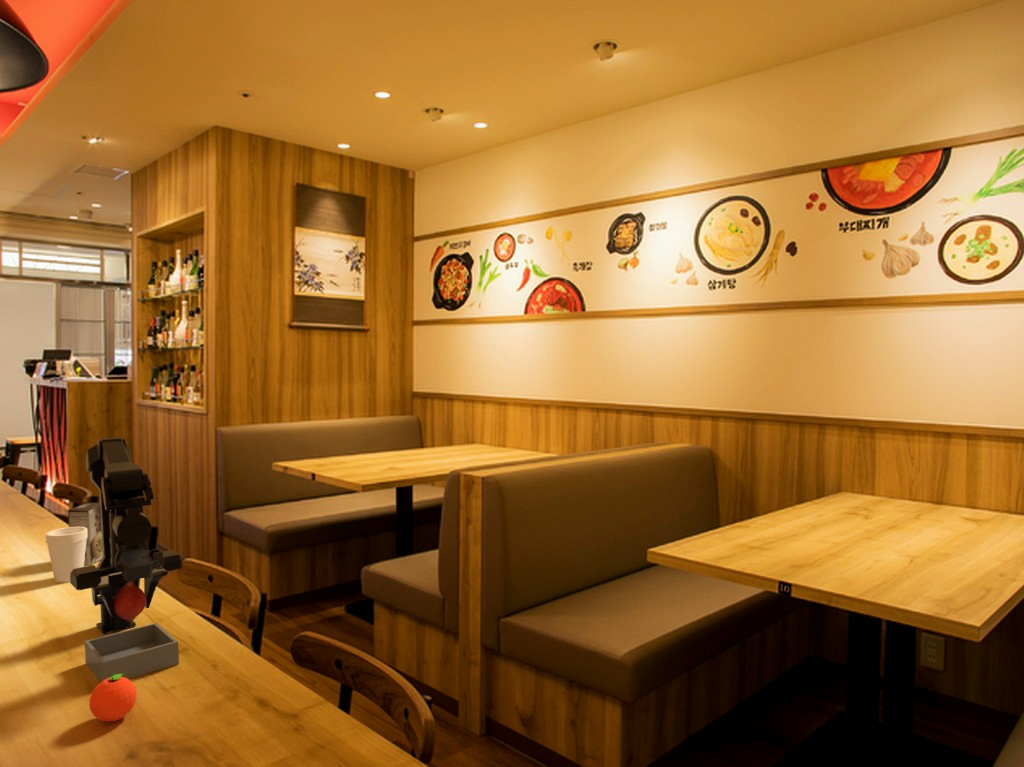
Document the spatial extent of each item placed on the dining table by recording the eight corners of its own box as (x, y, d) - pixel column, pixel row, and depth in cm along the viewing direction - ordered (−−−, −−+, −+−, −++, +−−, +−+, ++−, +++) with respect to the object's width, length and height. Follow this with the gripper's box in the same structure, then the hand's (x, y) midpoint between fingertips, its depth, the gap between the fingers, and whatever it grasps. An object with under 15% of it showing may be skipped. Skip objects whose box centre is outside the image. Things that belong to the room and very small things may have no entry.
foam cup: (74, 584, 187) (72, 536, 186) (39, 584, 187) (37, 536, 186) (96, 573, 196) (94, 526, 196) (63, 573, 197) (61, 526, 196)
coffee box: (89, 555, 213) (87, 502, 212) (110, 555, 212) (108, 502, 211) (69, 565, 204) (66, 509, 203) (91, 565, 203) (88, 509, 202)
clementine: (106, 706, 124) (104, 666, 124) (147, 704, 124) (146, 664, 124) (81, 731, 116) (79, 688, 116) (125, 729, 116) (124, 686, 116)
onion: (109, 628, 136) (108, 587, 136) (117, 617, 142) (116, 577, 141) (143, 625, 138) (141, 584, 137) (149, 614, 143) (148, 574, 143)
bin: (85, 663, 140) (84, 641, 140) (157, 643, 150) (156, 622, 149) (103, 686, 131) (102, 662, 131) (179, 664, 140) (178, 641, 140)
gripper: (82, 552, 126) (86, 638, 127) (191, 532, 139) (194, 610, 140) (67, 539, 135) (71, 620, 136) (172, 521, 147) (174, 595, 148)
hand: (130, 611), depth 140 cm, fingers closed on onion, 6 cm apart
